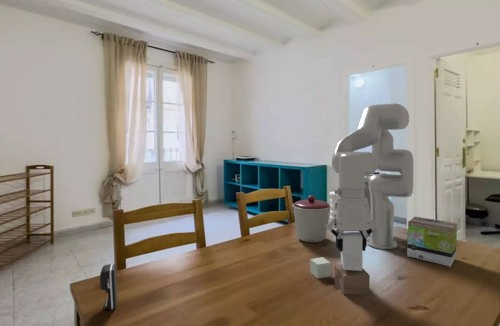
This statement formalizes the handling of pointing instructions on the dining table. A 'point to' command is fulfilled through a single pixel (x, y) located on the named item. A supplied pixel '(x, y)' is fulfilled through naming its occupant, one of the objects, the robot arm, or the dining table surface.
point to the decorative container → (333, 204)
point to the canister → (311, 219)
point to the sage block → (320, 267)
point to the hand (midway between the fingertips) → (351, 249)
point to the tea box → (432, 240)
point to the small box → (352, 250)
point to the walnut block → (352, 280)
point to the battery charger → (109, 285)
